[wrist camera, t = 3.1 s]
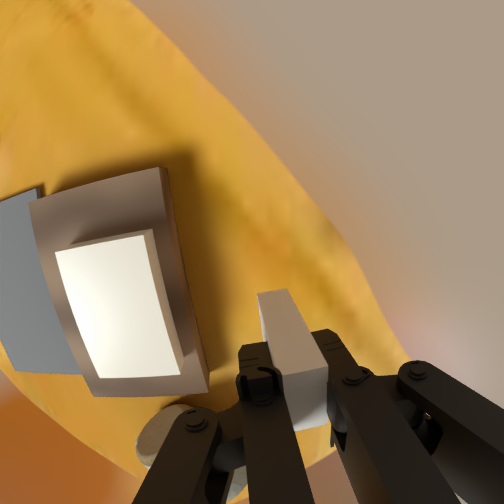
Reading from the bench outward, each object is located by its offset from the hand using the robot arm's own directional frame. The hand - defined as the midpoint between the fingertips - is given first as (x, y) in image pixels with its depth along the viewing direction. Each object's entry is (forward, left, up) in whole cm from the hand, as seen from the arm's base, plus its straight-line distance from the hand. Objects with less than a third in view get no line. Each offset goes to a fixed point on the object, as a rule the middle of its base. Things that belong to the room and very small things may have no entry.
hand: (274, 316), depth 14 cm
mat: (-1, -21, -6) cm, 22 cm away
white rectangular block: (0, -9, -4) cm, 10 cm away
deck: (0, -10, -6) cm, 12 cm away
